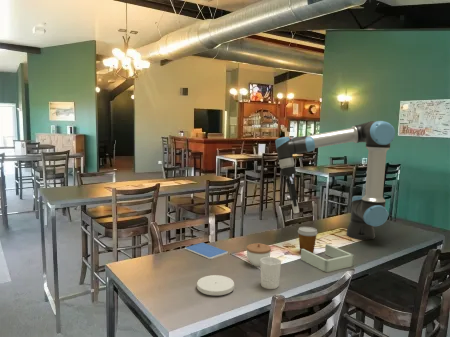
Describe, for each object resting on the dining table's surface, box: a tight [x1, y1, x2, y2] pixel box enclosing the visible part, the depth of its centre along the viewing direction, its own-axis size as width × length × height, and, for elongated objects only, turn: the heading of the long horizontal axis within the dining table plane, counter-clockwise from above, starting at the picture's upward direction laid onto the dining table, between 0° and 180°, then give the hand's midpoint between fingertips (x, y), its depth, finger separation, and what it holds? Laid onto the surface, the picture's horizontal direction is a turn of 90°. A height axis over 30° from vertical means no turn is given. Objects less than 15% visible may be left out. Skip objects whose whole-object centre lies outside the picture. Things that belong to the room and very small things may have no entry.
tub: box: [300, 243, 355, 273], centre depth 163 cm, size 16×16×5 cm
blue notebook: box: [184, 242, 229, 260], centre depth 175 cm, size 19×13×1 cm, turn 45°
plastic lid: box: [196, 274, 235, 297], centre depth 135 cm, size 14×14×2 cm
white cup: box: [259, 256, 282, 290], centre depth 138 cm, size 8×8×10 cm
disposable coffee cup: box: [297, 226, 318, 254], centre depth 174 cm, size 10×10×12 cm
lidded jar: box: [246, 242, 272, 267], centre depth 159 cm, size 11×11×9 cm
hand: (296, 212), depth 181 cm, fingers closed
